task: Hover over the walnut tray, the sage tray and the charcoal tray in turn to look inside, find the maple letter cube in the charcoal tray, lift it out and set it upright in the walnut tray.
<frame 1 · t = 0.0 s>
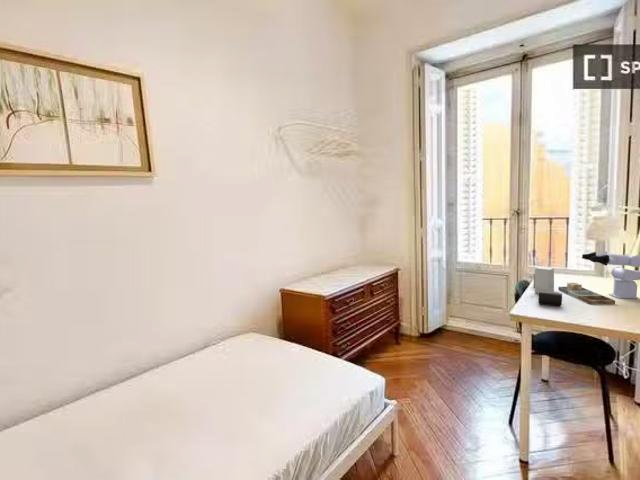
hand: (586, 257, 199), 22 cm above the table, tool horizontal, fingers open, 7 cm apart
charcoal tray: (573, 291, 211), on the table
maple letter cube: (573, 292, 211), resting in charcoal tray
skincare box: (543, 293, 210), on the table
ink box: (542, 288, 220), on the table
walnut tray: (596, 301, 192), on the table
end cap: (549, 305, 189), on the table
sage tray: (584, 296, 201), on the table
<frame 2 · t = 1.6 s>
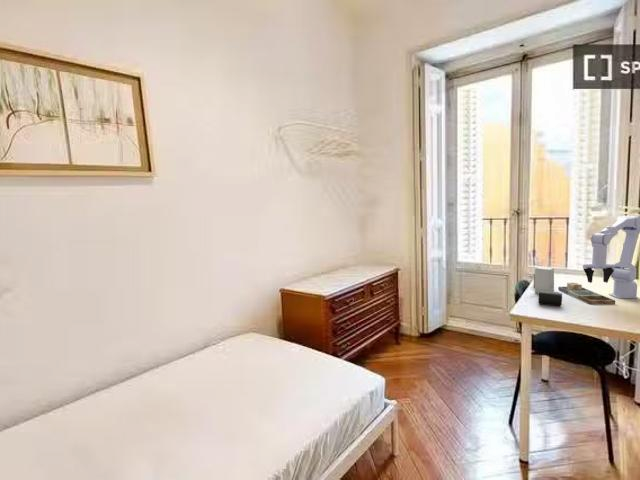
hand: (597, 282, 190), 10 cm above the table, tool pointing down, fingers open, 7 cm apart
nothing on the table moved.
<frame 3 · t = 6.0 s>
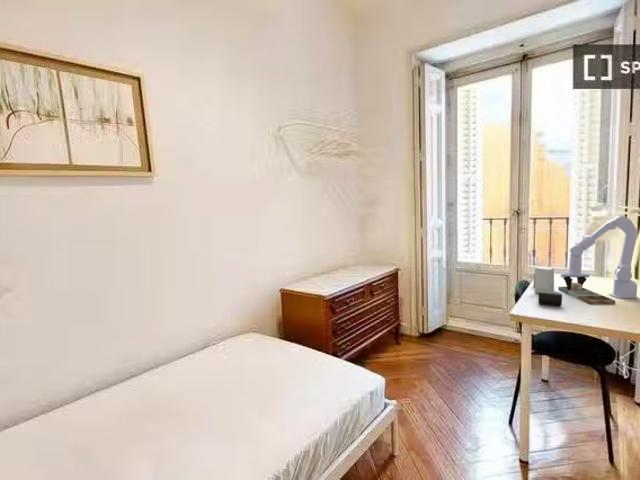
hand: (574, 289, 211), 1 cm above the table, tool pointing down, fingers closed on maple letter cube, 5 cm apart
maple letter cube: (573, 291, 211), resting in charcoal tray, touching gripper
everything else where it was.
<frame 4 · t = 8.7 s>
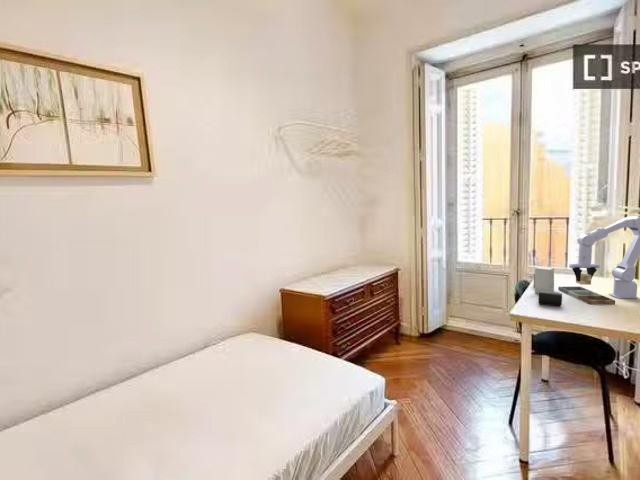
hand: (583, 280, 202), 8 cm above the table, tool pointing down, fingers closed on maple letter cube, 5 cm apart
maple letter cube: (583, 283, 202), point 7 cm above the table, touching gripper
everything else where it was.
when the fingers open (3 cm above the table, at t = 11.1 s): maple letter cube drops 2 cm, resting in walnut tray.
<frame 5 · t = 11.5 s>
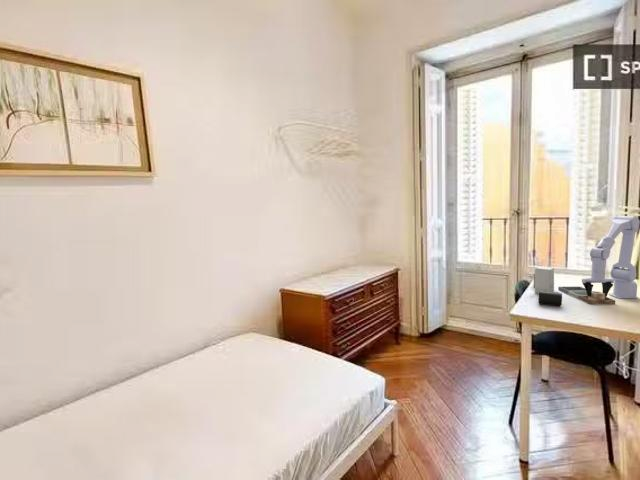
hand: (596, 296, 191), 3 cm above the table, tool pointing down, fingers open, 7 cm apart
maple letter cube: (595, 301, 192), resting in walnut tray
everything else where it was.
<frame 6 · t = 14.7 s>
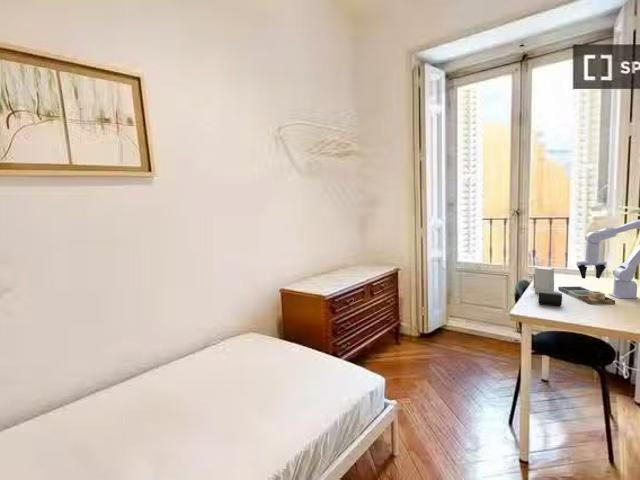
hand: (590, 278, 204), 9 cm above the table, tool pointing down, fingers open, 7 cm apart
nothing on the table moved.
at the end: maple letter cube 0.3 cm off-centre on the walnut tray, point 0.0 cm above the walnut tray's base; maple letter cube tilted 0°; the gripper is holding nothing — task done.
